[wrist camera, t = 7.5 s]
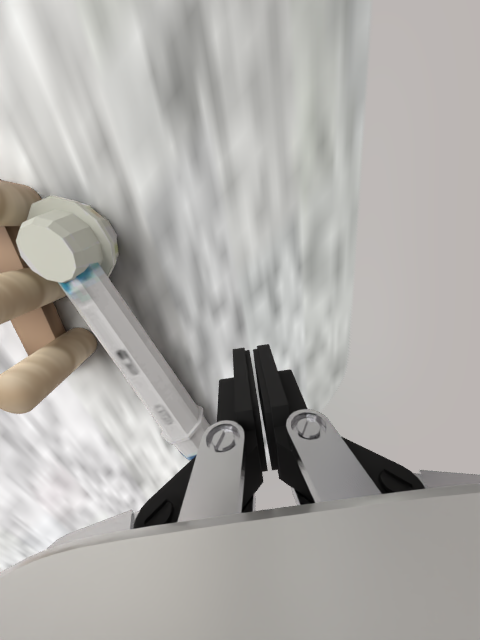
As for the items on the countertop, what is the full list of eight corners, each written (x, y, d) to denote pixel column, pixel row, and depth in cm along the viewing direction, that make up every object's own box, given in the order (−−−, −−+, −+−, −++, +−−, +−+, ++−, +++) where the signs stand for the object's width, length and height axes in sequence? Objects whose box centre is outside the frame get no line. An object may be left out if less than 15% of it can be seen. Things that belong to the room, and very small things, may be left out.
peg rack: (-39, 185, 19) (-216, 157, 11) (32, 173, 19) (-100, 139, 11) (48, 365, 24) (-31, 427, 17) (103, 358, 24) (47, 416, 17)
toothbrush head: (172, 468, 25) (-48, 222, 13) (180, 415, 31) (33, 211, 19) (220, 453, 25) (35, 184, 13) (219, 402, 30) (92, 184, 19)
